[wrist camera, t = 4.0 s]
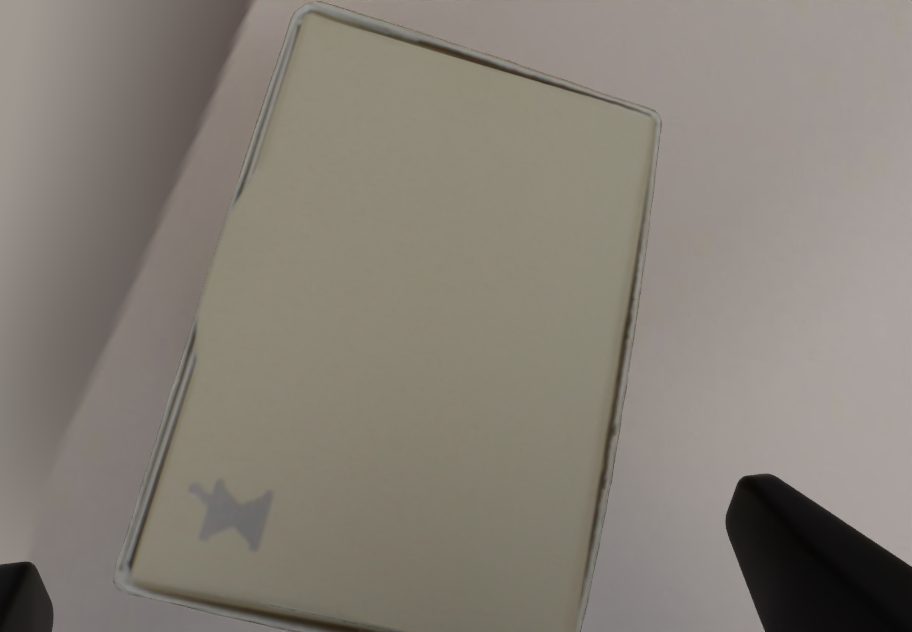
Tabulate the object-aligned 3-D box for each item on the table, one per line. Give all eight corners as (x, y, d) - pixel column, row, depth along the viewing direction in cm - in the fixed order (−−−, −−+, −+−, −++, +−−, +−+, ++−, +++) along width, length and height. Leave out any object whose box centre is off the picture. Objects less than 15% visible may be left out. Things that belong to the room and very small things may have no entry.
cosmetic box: (422, 560, 18) (578, 734, 7) (249, 521, 18) (81, 634, 6) (476, 316, 20) (687, 97, 8) (319, 275, 19) (293, -23, 8)
